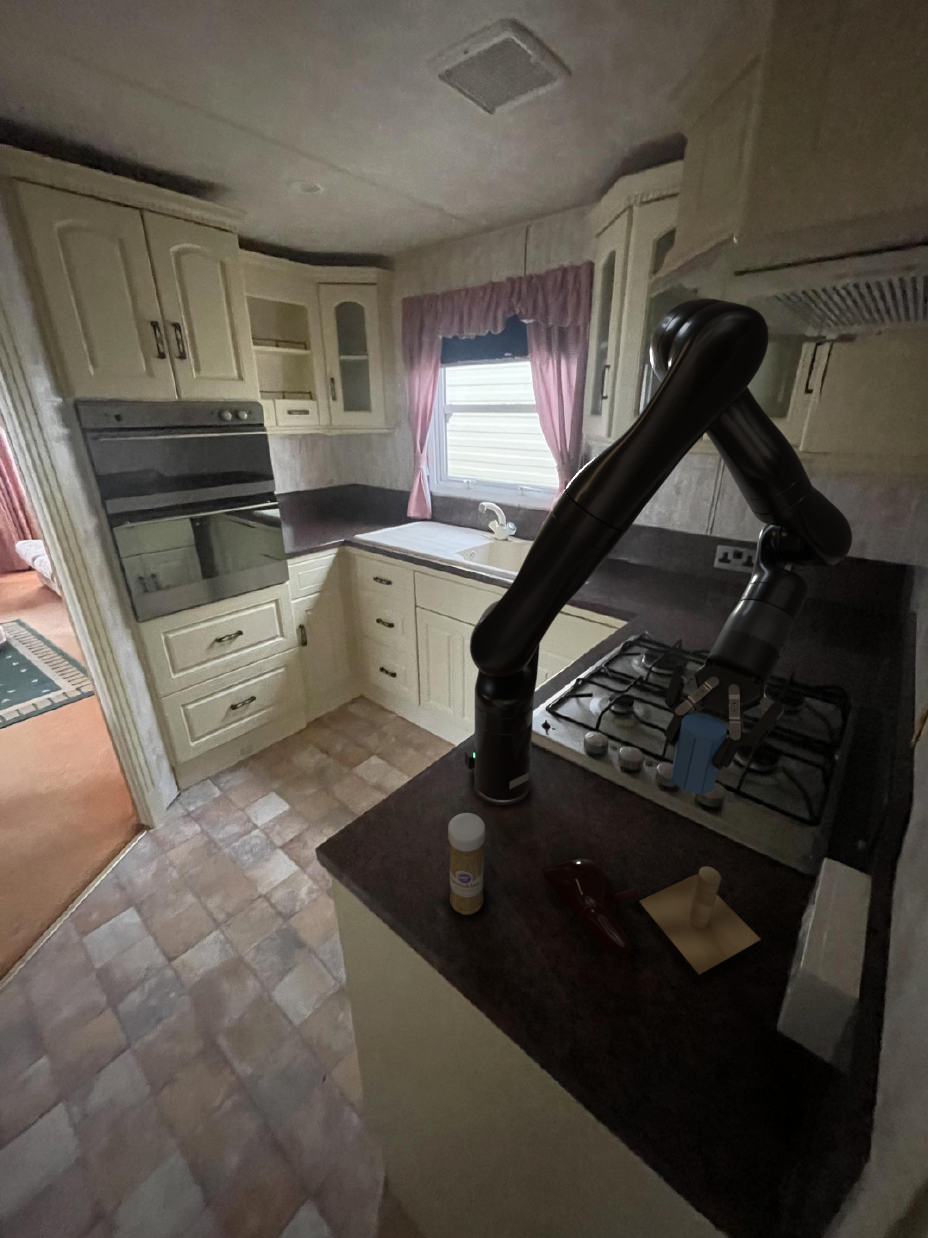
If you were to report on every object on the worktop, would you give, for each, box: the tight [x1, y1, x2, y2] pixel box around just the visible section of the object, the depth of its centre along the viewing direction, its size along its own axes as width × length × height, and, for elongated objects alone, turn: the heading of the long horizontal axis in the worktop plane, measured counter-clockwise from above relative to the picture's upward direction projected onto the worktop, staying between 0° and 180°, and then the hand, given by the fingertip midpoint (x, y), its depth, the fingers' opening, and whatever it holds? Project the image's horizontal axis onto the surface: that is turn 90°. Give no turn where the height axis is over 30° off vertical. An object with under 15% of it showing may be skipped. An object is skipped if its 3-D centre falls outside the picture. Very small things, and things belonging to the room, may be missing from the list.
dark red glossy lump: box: [542, 857, 639, 956], centre depth 65 cm, size 6×12×11 cm
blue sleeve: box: [670, 712, 728, 796], centre depth 67 cm, size 5×5×9 cm
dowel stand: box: [639, 866, 762, 975], centre depth 63 cm, size 10×10×9 cm
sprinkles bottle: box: [447, 812, 486, 916], centre depth 65 cm, size 5×5×14 cm
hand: (692, 755), depth 66 cm, fingers closed on blue sleeve, 5 cm apart
